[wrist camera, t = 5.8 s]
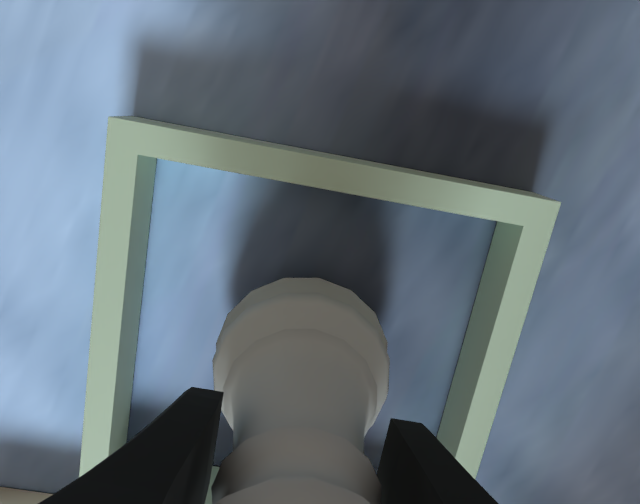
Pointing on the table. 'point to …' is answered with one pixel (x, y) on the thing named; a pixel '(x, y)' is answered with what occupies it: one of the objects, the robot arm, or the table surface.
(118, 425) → the sage square frame
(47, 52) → the table surface
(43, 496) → the beige square frame
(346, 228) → the table surface
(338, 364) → the rook chess piece
